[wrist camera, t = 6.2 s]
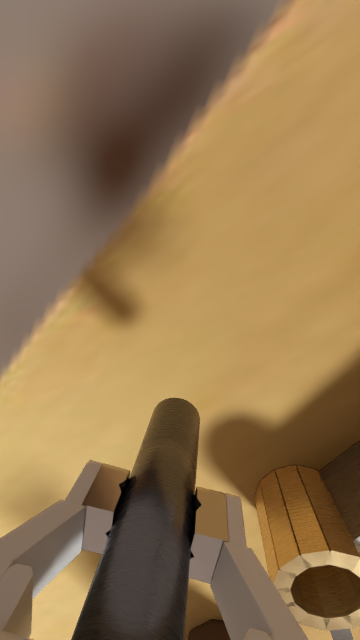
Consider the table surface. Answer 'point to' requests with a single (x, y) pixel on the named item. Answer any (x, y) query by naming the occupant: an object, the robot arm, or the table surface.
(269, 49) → the table surface
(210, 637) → the beer bottle
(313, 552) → the hinge
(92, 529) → the robot arm
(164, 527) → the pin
